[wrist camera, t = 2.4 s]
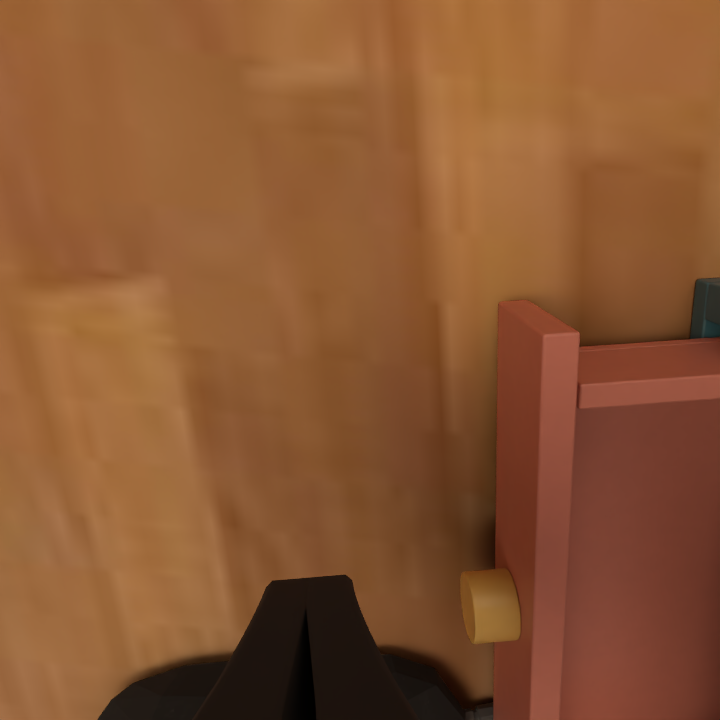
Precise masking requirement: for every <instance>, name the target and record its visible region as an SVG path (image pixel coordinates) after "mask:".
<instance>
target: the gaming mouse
mask: <svg viewBox="0 0 720 720" xmlns="http://www.w3.org/2000/svg"><path fill="white" fill-rule="evenodd" d="M381 655H382V657H383V659H384V661H385V663H386V665H387V666H388V668H389V670H390V672H391V674H392V675H393V677H394V679H395V681H396V682H397V684H398V686H399V688H400V689H401V691H402V692H403V694H404V696H405V697H406V699H407V701H408V702H409V704H410V705H411V707H412V709H413V710H414V712H415V713H416V715H417V716H418V718H419V719H420V720H493V703H494V702H493V703H488V704H483V705H477V706H476V707H475V710H471V708H467V709H463V708H462V706H461V705H460V704H459V702H458V701H457V699H456V698H455V697H454V695H453V694H452V692H451V691H450V690H449V688H448V687H447V685H446V684H445V682H444V681H443V680H442V678H441V677H440V675H439V674H438V673H437V671H436V670H435V668H433V667H429V666H426V665H423V664H420V663H417V662H413V661H410V660H407V659H404V658H401V657H397V656H394V655H391V654H381ZM228 662H229V661H225V662H214V663H203V664H192V665H186V666H182V667H179V668H176V669H173V670H170V671H167V672H164V673H161V674H158V675H155V676H152V677H150V678H147V679H144V680H141V681H138V682H135V683H133V684H131V685H130V686H129V687H127V688H126V689H125V690H124V691H122V692H121V693H120V694H118V695H117V696H116V697H115V698H113V699H112V700H111V701H110V703H109V704H108V706H107V707H106V708H105V710H104V711H103V712H102V714H101V715H100V717H99V718H98V720H192V719H193V717H194V716H195V714H196V713H197V711H198V710H199V708H200V707H201V705H202V704H203V702H204V701H205V699H206V697H207V696H208V694H209V693H210V691H211V690H212V688H213V687H214V685H215V684H216V682H217V680H218V679H219V677H220V675H221V674H222V672H223V670H224V668H225V667H226V665H227V663H228Z"/></svg>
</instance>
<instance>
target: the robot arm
mask: <svg viewBox="0 0 720 720" xmlns="http://www.w3.org/2000/svg"><path fill="white" fill-rule="evenodd" d="M192 720H420V719H419V718H418V716H417V715H416V713H415V712H414V710H413V709H412V707H411V705H410V704H409V702H408V701H407V699H406V697H405V696H404V694H403V692H402V691H401V689H400V688H399V686H398V684H397V682H396V681H395V679H394V677H393V675H392V674H391V672H390V670H389V668H388V666H387V665H386V663H385V661H384V659H383V657H382V655H381V653H380V651H379V649H378V647H377V646H376V644H375V642H374V640H373V637H372V635H371V633H370V631H369V629H368V627H367V624H366V622H365V620H364V617H363V615H362V613H361V610H360V607H359V605H358V602H357V599H356V595H355V592H354V588H353V582H352V580H351V579H350V578H349V577H348V576H346V575H335V576H324V577H312V578H300V579H288V580H276V581H272V582H271V583H270V584H269V585H268V586H267V587H266V589H265V591H264V594H263V596H262V599H261V601H260V603H259V605H258V607H257V609H256V612H255V614H254V616H253V618H252V620H251V622H250V624H249V626H248V627H247V629H246V631H245V633H244V635H243V637H242V639H241V641H240V643H239V644H238V646H237V648H236V649H235V651H234V653H233V655H232V656H231V658H230V660H229V662H228V663H227V665H226V667H225V668H224V670H223V672H222V674H221V675H220V677H219V679H218V680H217V682H216V684H215V685H214V687H213V688H212V690H211V691H210V693H209V694H208V696H207V697H206V699H205V701H204V702H203V704H202V705H201V707H200V708H199V710H198V711H197V713H196V714H195V716H194V717H193V719H192Z"/></svg>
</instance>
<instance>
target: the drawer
mask: <svg viewBox="0 0 720 720" xmlns="http://www.w3.org/2000/svg"><path fill="white" fill-rule="evenodd" d="M579 343H580V333H579V332H578V331H576V330H575V329H573V328H572V327H570V326H568V325H567V324H565V323H564V322H562V321H560V320H559V319H557V318H556V317H554V316H552V315H551V314H549V313H547V312H546V311H544V310H543V309H541V308H539V307H538V306H536V305H535V304H533V303H531V302H530V301H528V300H517V301H502V302H499V304H498V374H497V456H496V538H495V569H490V570H478V571H466V572H463V573H462V575H461V580H460V593H461V604H462V612H463V618H464V623H465V627H466V631H467V634H468V637H469V639H470V641H471V643H472V644H481V643H492V642H494V703H493V720H720V337H714V338H700V339H685V340H671V341H656V342H642V343H628V344H613V345H599V346H585V347H579Z"/></svg>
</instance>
